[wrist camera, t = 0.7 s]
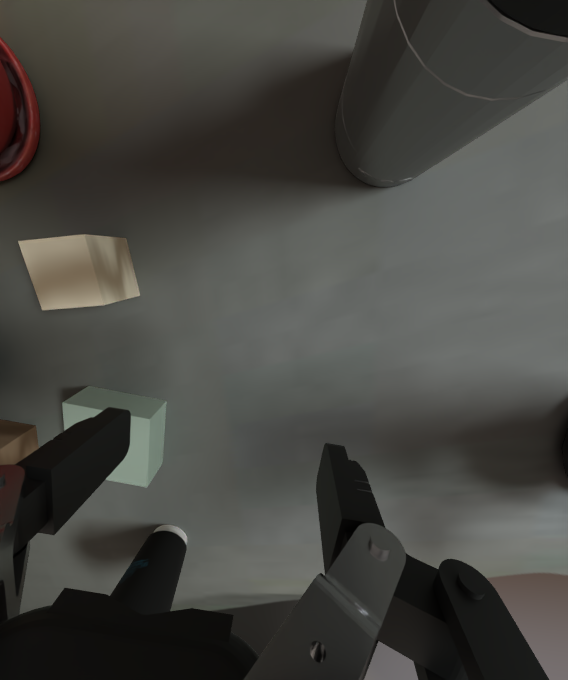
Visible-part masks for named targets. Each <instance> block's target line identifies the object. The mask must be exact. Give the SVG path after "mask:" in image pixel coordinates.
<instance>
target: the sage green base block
mask: <svg viewBox="0 0 568 680" xmlns="http://www.w3.org/2000/svg"><path fill="white" fill-rule="evenodd" d="M166 402H167V401H165V400H160V399H155V398H150V397H144V396H139V395H134V394H129V393H124V392H118V391H113V390H108V389H103V388H98V387H92V386H88V387H86V388H85V389H83V390H81V391H80V392H78V393H77V394H75V395H74V396H72V397H70V398H69V399H67V400H66V401H64V402H63V403H62V405H63V419H64V431H65V430H66V429H68V428H69V427H71V426H72V425H74V424H75V423H77V422H80V421H82V420H85V419H88V418H90V417H95V416H96V415H98V414H99V413H100V412H102V411H103V410H105V409H106V408H108V407H113V408H119V409H125V410H129V411H130V413H131V429H130V446H129V450H128V453H127V455H126V457H125V458H124V460H123V461H122V462H121V463H120V464H119V465H118V466H117V467H116V468H115V470H114V471H113V472H112V473H111V474H110V475H109V476H108V477H107V478H106V479H105V480H110V481H115V482H121V483H126V484H131V485H137V486H142V487H148V485H149V484H150V482H151V480H152V479H153V477H154V476H155V474H156V473H157V471H158V470H159V468H160V466H161V465H162V463H163V447H164V432H165V417H166Z"/></svg>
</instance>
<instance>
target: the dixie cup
mask: <svg viewBox="0 0 568 680" xmlns="http://www.w3.org/2000/svg"><path fill="white" fill-rule="evenodd" d="M186 544H187V536H186V534H185V533H184V531H183V530H181V529H180V528H178V527H176V526H173V525H161V526H159V527H157V528H156V529H155V531H154V532H153V533H152V534H151V535H150V536H149V537H148V538H147V540H146V542H145V543H144V545H143V546H142V548H141V549H140V551H139V552H138V554H137V555H136V557H135V558H134V560H133V561H132V563H131V565H130V566H129V568H128V569H127V571H126V572H125V574H124V575H123V577H122V578H121V580H120V581H119V583H118V584H117V586H116V588H115V589H114V591H113V592H112V594H111V595H110V597H112V598H113V599H115V600H117V601H119V602H120V603H122V604H124V605H126V606H127V607H129V608H131V609H133V610H134V611H136V612H138V613H140V614H143V615H150V614H157V613H164V612H170V609H171V606H172V602H173V598H174V594H175V591H176V587H177V583H178V580H179V576H180V572H181V568H182V565H183V561H184V557H185V553H186Z"/></svg>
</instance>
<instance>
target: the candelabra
mask: <svg viewBox="0 0 568 680" xmlns="http://www.w3.org/2000/svg"><path fill="white" fill-rule="evenodd" d="M562 451H563V455H564V468H565V472H566V475H567V476H568V429H567V432H566V437H565V441H564V443H563V446H562Z"/></svg>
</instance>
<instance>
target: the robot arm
mask: <svg viewBox="0 0 568 680" xmlns="http://www.w3.org/2000/svg"><path fill="white" fill-rule="evenodd" d="M567 80H568V0H367V3H366V7H365V11H364V14H363V18H362V21H361V25H360V29H359V32H358V36H357V39H356V43H355V47H354V50H353V54H352V57H351V61H350V65H349V68H348V72H347V75H346V78H345V82H344V85H343V89H342V93H341V96H340V100H339V104H338V108H337V113H336V118H335V138H336V144H337V149H338V151H339V154H340V157H341V159H342V161H343V162H344V164H345V166H346V167H347V169H348V170H349V171H350V172H351V173H352V174H353V175H354V176H355V177H356V178H358V179H360V180H361V181H363V182H365V183H367V184H370V185H373V186H377V187H392V186H398V185H401V184H403V183H406V182H408V181H411V180H412V179H414V178H415V177H417V176H418V175H420V174H422V173H423V172H425V171H426V170H428V169H429V168H431V167H433V166H434V165H436V164H438V163H439V162H441V161H442V160H444V159H446V158H447V157H449V156H450V155H452V154H453V153H455V152H456V151H458V150H459V149H461V148H463V147H464V146H466V145H467V144H469V143H470V142H472V141H473V140H475V139H477V138H478V137H480V136H481V135H483V134H484V133H486V132H487V131H489V130H491V129H492V128H494V127H495V126H497V125H498V124H500V123H501V122H503V121H504V120H506V119H508V118H509V117H511V116H512V115H514V114H515V113H517V112H518V111H520V110H522V109H523V108H525V107H526V106H528V105H529V104H531V103H532V102H534V101H535V100H537V99H539V98H540V97H542V96H543V95H545V94H546V93H548V92H549V91H551V90H553V89H554V88H556V87H557V86H559V85H560V84H562V83H563V82H565V81H567ZM130 429H131V413H130V411H129V410H125V409H119V408H113V407H108V408H106V409H105V410H103V411H102V412H100V413H99V414H98V415H96V416H95V417H90V418H88V419H85V420H82V421H80V422H77V423H75V424H74V425H72V426H71V427H69V428H68V429H66V430H65V431H64V432H63V433H61V434H59V435H58V436H56V437H55V438H54V439H53V440H50V441H49V442H47V443H46V444H44V445H43V446H41V447H40V448H38V449H37V450H36V451H34V452H33V453H31V454H30V455H28V456H27V457H25V458H24V459H22V460H21V461H19V462H18V463H16V464H15V465H12V464H6V465H0V680H364V678H365V676H366V673H367V670H368V668H369V665H370V662H371V660H372V657H373V654H374V652H375V649H376V646H377V643H378V641H380V642H382V643H383V644H385V645H387V646H389V647H390V648H392V649H394V650H395V651H397V652H399V653H401V654H402V655H404V656H406V657H408V658H409V659H411V660H413V661H414V665H415V668H416V672H417V676H418V680H549V679H548V677H547V675H546V674H545V672H544V670H543V669H542V667H541V665H540V663H539V662H538V660H537V658H536V657H535V655H534V653H533V652H532V650H531V648H530V647H529V645H528V643H527V642H526V640H525V638H524V636H523V635H522V633H521V631H520V630H519V628H518V626H517V625H516V623H515V621H514V620H513V618H512V616H511V615H510V613H509V611H508V610H507V608H506V606H505V605H504V603H503V601H502V599H501V598H500V596H499V595H498V593H497V591H496V590H495V588H494V587H493V586H492V584H491V583H490V582H489V581H488V580H487V579H486V578H485V577H484V576H483V575H482V574H481V573H480V572H478V571H477V570H476V569H474V568H473V567H471V566H470V565H468V564H466V563H464V562H462V561H459V560H455V559H447V560H444V561H443V562H442V563H441V564H440V566H439V569H436V568H434V567H432V566H430V565H427V564H425V563H423V562H421V561H419V560H417V559H415V558H413V557H411V556H409V555H408V554H406V553H405V550H404V548H403V546H402V544H401V542H400V541H399V540H398V538H397V537H396V536H395V535H394V534H393V533H392V532H390V531H389V530H388V529H386V528H385V526H384V523H383V520H382V517H381V515H380V512H379V509H378V506H377V504H376V501H375V498H374V495H373V493H372V490H371V487H370V484H369V482H368V479H367V476H366V473H365V471H364V470H363V469H362V467H361V466H360V465H359V464H358V463H357V462H356V461H351V460H348V457H347V453H346V450H345V447H344V446H341V445H335V444H329V443H325V445H324V449H323V453H322V458H321V462H320V467H319V471H318V476H317V484H316V493H317V503H318V512H319V522H320V531H321V541H322V550H323V560H324V569H325V576H324V575H323V574H322V573H320V574H319V575H317V577H316V578H315V579H314V580H313V582H312V583H311V584H310V586H309V587H308V589H307V590H306V592H305V593H304V594H303V596H302V597H301V599H300V600H299V602H298V603H297V604H296V606H295V607H294V609H293V610H292V611H291V613H290V614H289V616H288V617H287V619H286V620H285V621H284V623H283V624H282V626H281V627H280V628H279V630H278V631H277V633H276V634H275V636H274V637H273V638H272V640H271V641H270V643H269V644H268V645H267V647H266V648H265V650H264V651H263V653H262V654H261V655H260V657H259V656H258V654H257V653H256V652H255V651H254V650H253V649H252V647H251V646H249V644H248V643H246V642H245V641H244V640H243V639H241V638H240V637H239V636H237V635H235V634H233V633H232V632H231V627H232V620H233V615H230V614H224V613H217V612H212V611H206V610H199V609H193V608H191V609H184V610H177V611H170V612H164V613H157V614H150V615H143V614H140V613H138V612H136V611H134V610H133V609H131V608H129V607H127V606H126V605H124V604H122V603H120V602H119V601H117V600H115V599H113V598H112V597H110V596H108V595H106V594H100V593H94V592H88V591H82V590H75V589H69V588H64V590H63V591H62V592H61V594H60V595H59V596H58V598H57V599H56V600H55V602H54V603H53V605H51V606H46V607H42V608H38V609H34V610H31V611H29V612H26V613H23V614H20V605H21V599H22V593H23V587H24V581H25V575H26V569H27V563H28V557H29V551H30V540H31V539H32V538H33V537H34V536H35V535H36V534H37V533H44V534H50V535H55V534H56V533H57V532H58V530H59V529H60V528H61V527H62V526H63V525H64V524H65V523H66V522H67V521H68V520H69V518H70V517H71V516H72V515H73V514H74V513H75V512H76V511H77V510H78V509H79V508H80V506H81V505H82V504H83V503H84V502H85V501H86V500H87V499H88V498H89V497H90V496H91V495H92V493H93V492H94V491H95V490H96V489H97V488H98V487H99V486H100V485H101V484H102V483H103V481H104V480H105V479H106V478H107V477H108V476H109V475H110V474H111V473H112V472H113V471H114V470H115V468H116V467H117V466H118V465H119V464H120V463H121V462H122V461H123V460H124V458H125V457H126V455H127V453H128V450H129V446H130ZM19 614H20V615H19Z"/></svg>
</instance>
